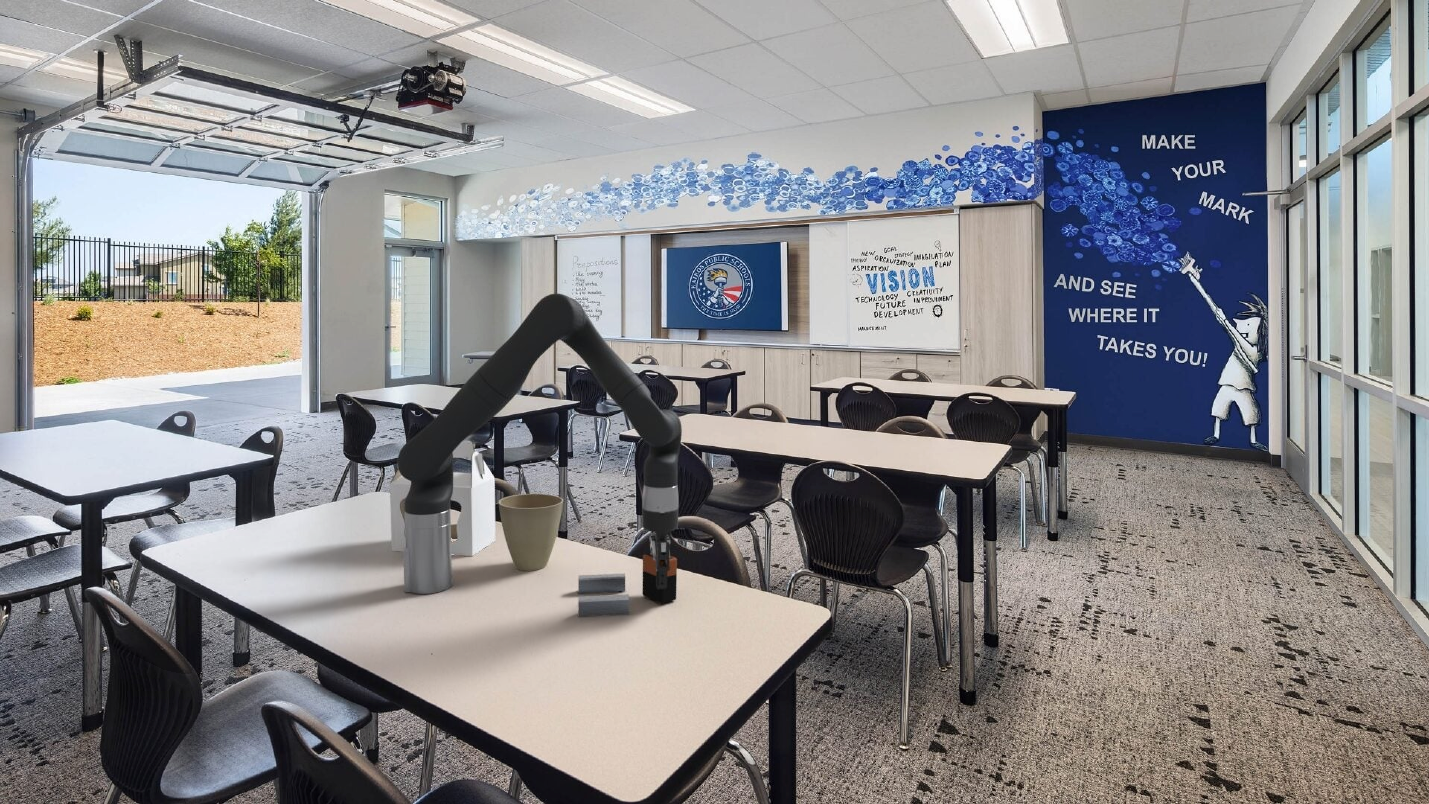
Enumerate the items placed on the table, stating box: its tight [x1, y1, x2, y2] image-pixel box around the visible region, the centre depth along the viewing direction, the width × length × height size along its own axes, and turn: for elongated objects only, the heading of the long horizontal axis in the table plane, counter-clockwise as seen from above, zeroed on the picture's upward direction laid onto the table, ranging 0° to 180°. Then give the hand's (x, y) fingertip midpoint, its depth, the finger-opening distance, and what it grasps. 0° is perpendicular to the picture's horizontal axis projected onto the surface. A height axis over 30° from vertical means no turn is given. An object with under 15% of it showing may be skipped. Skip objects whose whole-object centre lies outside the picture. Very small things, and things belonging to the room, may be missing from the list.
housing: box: [577, 573, 630, 618], centre depth 157 cm, size 10×15×3 cm, turn 10°
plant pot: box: [498, 493, 564, 572], centre depth 179 cm, size 15×15×16 cm
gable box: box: [389, 439, 496, 557], centre depth 193 cm, size 22×13×28 cm, turn 81°
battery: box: [642, 550, 678, 605], centre depth 159 cm, size 4×7×10 cm, turn 42°
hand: (659, 581), depth 159 cm, fingers closed on battery, 7 cm apart
